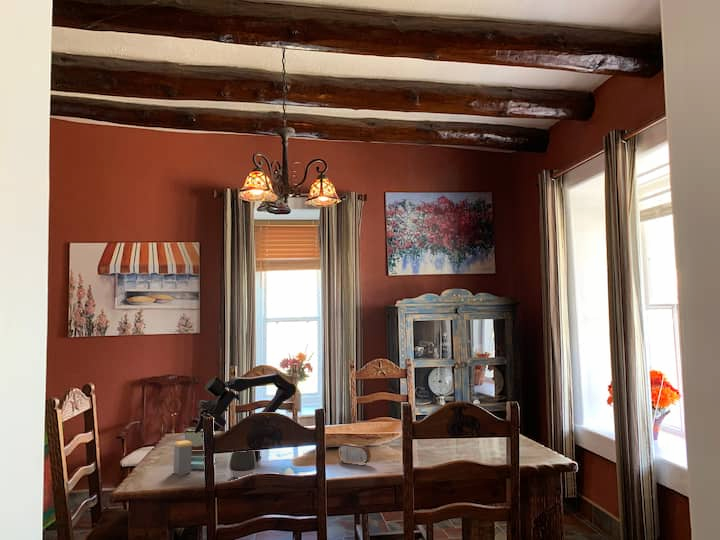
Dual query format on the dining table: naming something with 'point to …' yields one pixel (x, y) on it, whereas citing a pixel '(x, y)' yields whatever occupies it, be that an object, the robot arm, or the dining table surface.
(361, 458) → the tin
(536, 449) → the dining table surface
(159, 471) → the dining table surface
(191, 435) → the food container
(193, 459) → the tray
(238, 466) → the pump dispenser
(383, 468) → the dining table surface
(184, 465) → the caddy
